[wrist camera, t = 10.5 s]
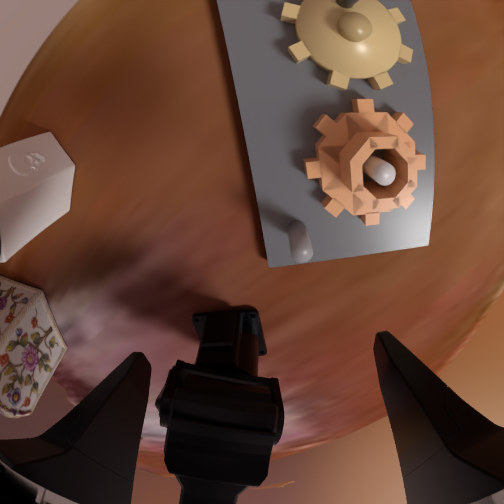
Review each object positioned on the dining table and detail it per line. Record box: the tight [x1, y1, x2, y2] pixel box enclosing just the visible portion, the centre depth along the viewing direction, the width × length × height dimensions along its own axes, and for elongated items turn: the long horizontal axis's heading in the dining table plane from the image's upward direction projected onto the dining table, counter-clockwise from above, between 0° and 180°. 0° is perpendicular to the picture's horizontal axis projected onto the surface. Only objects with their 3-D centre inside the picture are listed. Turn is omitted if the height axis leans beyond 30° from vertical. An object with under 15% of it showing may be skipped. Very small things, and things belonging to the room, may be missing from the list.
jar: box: [0, 132, 75, 263], centre depth 14 cm, size 9×8×12 cm
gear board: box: [217, 0, 434, 268], centre depth 14 cm, size 22×14×4 cm, turn 10°
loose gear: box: [303, 99, 426, 226], centre depth 15 cm, size 9×9×4 cm
